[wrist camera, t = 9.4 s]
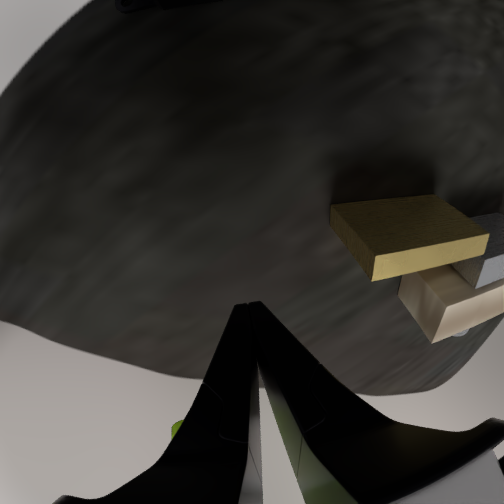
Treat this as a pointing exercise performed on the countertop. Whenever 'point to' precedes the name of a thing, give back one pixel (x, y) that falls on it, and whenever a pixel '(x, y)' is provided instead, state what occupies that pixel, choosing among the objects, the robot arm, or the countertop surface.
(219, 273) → the countertop surface
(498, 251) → the grey block with shaft
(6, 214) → the countertop surface
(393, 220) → the block
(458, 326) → the block
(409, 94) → the countertop surface
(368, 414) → the robot arm
